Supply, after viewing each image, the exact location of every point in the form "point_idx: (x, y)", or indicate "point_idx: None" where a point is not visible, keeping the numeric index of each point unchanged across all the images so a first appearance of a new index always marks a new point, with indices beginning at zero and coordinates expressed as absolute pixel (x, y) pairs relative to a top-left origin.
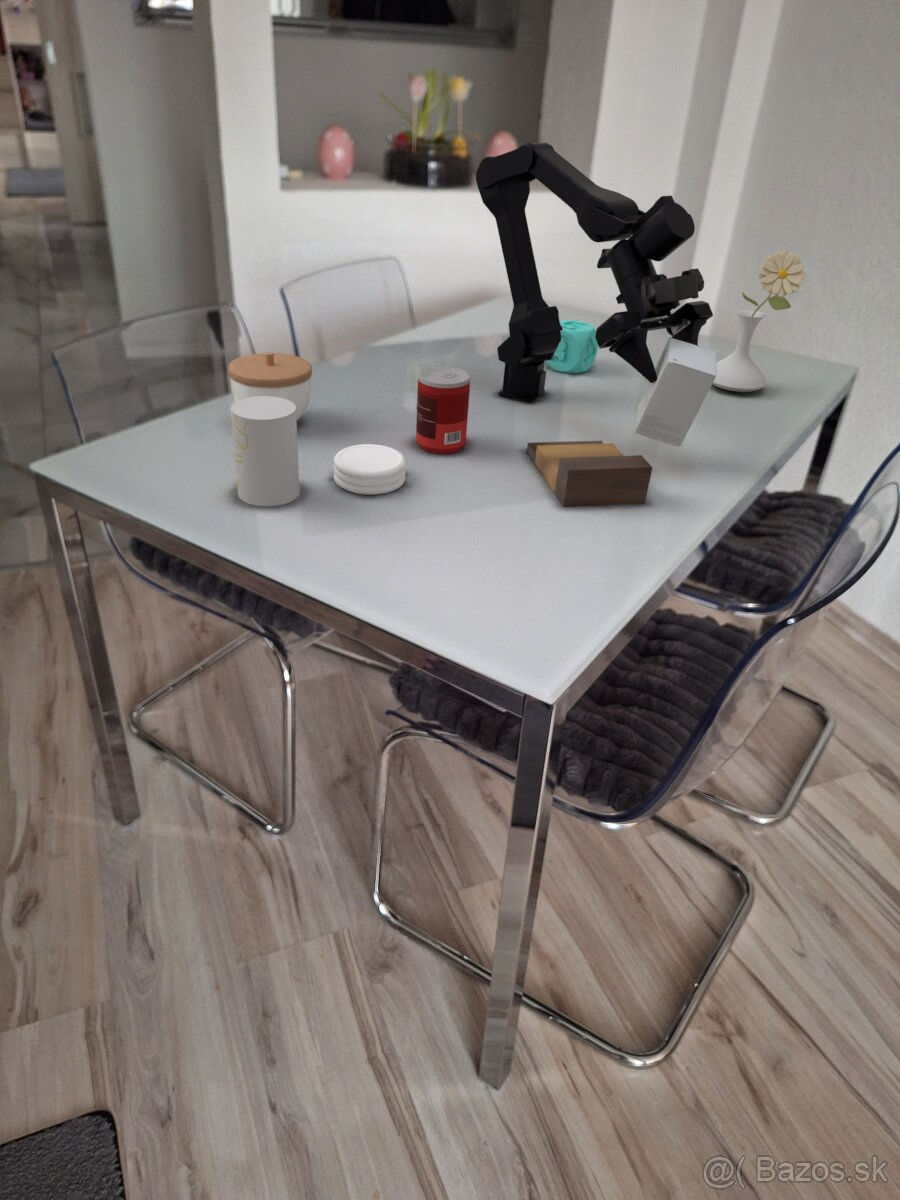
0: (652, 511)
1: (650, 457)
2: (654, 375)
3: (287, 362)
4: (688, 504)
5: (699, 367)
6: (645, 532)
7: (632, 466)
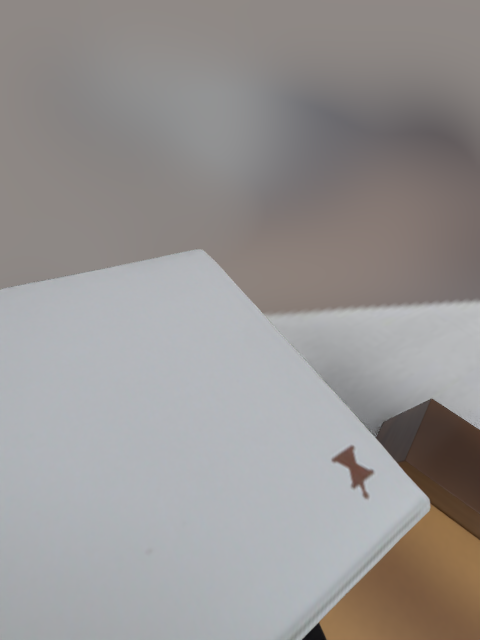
0: (395, 394)
1: None
2: (323, 636)
3: None
4: (313, 360)
5: (230, 313)
6: (461, 365)
7: (478, 436)
